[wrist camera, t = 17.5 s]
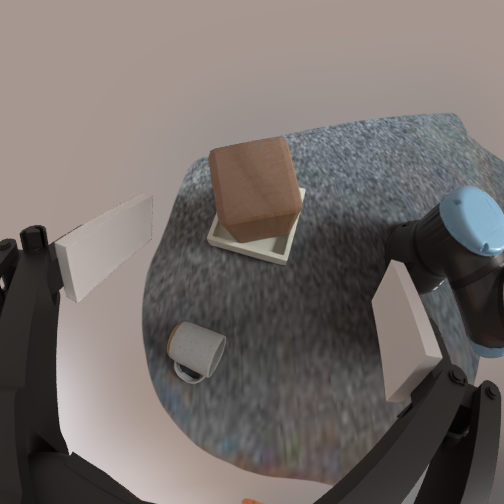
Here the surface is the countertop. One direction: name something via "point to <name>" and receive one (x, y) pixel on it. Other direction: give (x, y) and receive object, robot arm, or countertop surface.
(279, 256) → the sage tray
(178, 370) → the ceramic mug
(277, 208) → the wooden block
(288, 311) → the countertop surface
